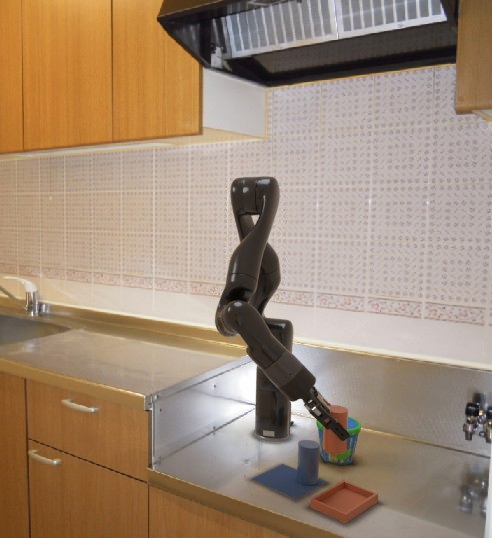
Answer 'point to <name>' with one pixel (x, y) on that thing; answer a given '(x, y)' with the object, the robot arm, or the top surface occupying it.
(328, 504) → the terracotta tray
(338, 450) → the terracotta cylinder
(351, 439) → the snack cup
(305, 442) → the blue cylinder
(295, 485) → the blue mat
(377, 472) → the top surface
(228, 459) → the top surface
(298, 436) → the top surface
